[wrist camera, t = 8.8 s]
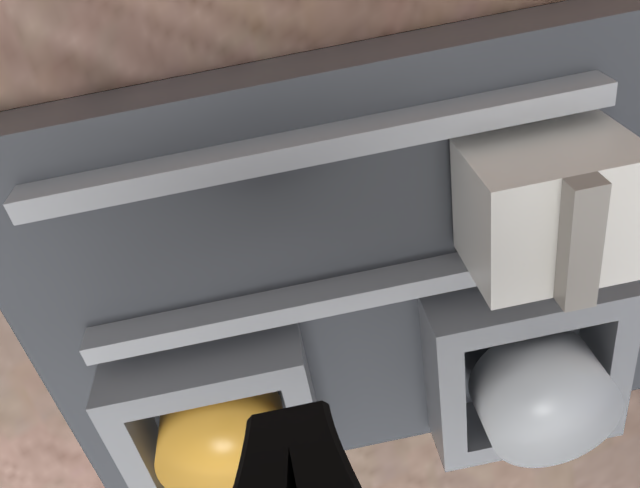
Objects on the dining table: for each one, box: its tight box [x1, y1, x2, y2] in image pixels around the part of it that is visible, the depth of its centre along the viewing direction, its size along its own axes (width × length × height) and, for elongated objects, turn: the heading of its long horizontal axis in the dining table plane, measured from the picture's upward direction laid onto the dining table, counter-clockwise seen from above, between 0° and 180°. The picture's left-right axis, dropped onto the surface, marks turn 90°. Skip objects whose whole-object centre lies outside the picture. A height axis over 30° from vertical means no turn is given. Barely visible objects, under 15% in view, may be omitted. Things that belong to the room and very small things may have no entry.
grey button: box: [468, 331, 624, 468], centre depth 19 cm, size 4×4×2 cm
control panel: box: [0, 0, 640, 488], centre depth 18 cm, size 20×14×4 cm
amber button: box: [154, 391, 283, 488], centre depth 19 cm, size 4×4×2 cm
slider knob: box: [450, 109, 640, 313], centre depth 15 cm, size 4×3×4 cm
